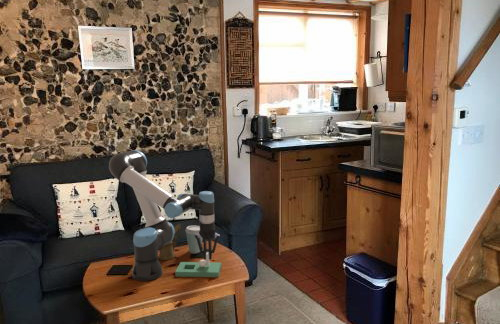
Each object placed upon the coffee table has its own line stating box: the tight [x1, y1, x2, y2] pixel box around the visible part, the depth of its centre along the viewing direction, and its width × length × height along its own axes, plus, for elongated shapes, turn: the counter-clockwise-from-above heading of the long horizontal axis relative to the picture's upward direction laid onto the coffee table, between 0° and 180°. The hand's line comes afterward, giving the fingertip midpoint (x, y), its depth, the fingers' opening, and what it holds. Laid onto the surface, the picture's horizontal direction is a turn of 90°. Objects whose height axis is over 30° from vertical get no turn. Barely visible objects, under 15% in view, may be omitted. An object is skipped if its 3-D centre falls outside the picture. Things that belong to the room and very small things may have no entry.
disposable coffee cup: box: [185, 225, 203, 254], centre depth 239 cm, size 11×11×15 cm
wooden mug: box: [158, 223, 181, 261], centre depth 233 cm, size 9×14×18 cm, turn 123°
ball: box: [198, 259, 206, 267], centre depth 213 cm, size 4×4×4 cm
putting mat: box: [174, 261, 222, 278], centre depth 214 cm, size 22×12×2 cm, turn 86°
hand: (207, 265), depth 214 cm, fingers closed
